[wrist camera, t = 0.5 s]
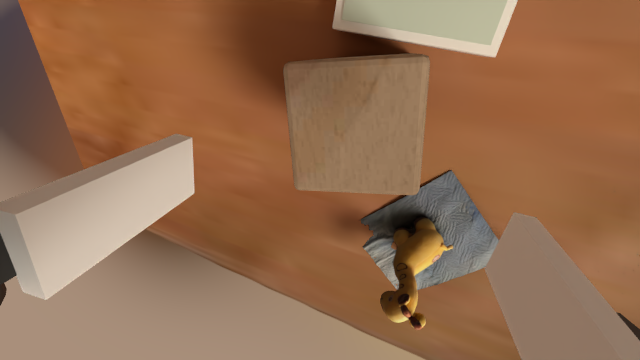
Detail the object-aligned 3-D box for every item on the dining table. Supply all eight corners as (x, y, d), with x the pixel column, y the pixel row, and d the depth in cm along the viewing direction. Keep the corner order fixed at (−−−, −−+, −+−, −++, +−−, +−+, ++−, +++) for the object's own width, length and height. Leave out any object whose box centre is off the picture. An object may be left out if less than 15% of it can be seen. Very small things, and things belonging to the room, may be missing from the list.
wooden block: (335, 133, 42) (292, 192, 24) (332, 57, 38) (279, 62, 21) (407, 133, 40) (419, 198, 22) (412, 53, 36) (431, 53, 18)
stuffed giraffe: (347, 225, 48) (328, 298, 34) (450, 168, 41) (481, 230, 27) (401, 293, 51) (405, 386, 37) (507, 252, 44) (561, 348, 30)
